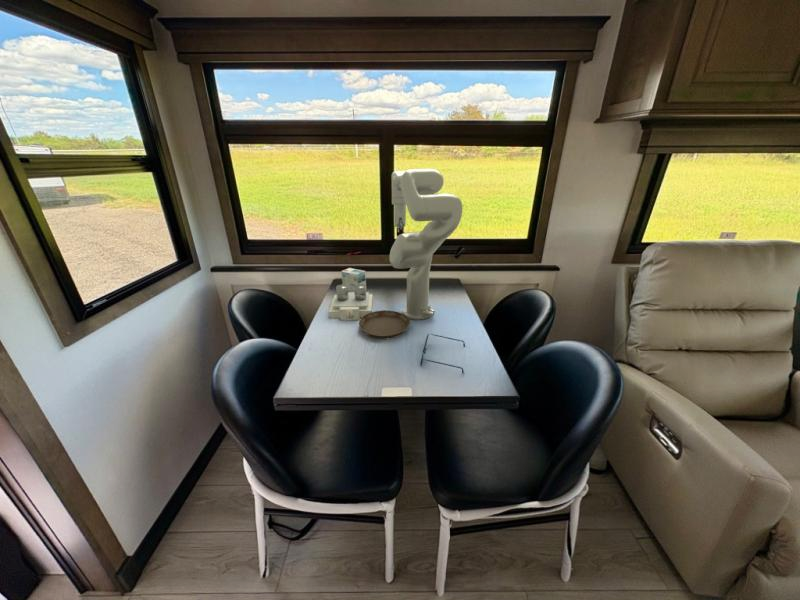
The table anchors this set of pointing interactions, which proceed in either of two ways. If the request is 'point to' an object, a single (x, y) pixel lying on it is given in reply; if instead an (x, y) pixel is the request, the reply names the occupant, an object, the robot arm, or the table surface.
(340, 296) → the ball
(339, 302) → the scale
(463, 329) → the table surface
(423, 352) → the sunglasses
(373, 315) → the plant saucer
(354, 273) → the light bulb box
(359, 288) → the cylinder
